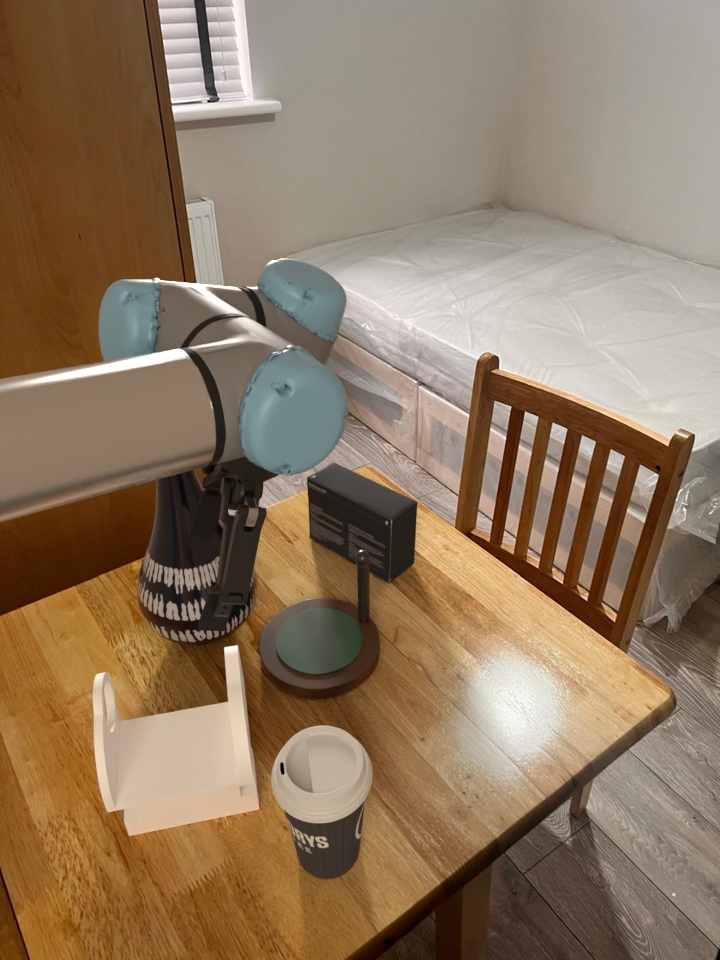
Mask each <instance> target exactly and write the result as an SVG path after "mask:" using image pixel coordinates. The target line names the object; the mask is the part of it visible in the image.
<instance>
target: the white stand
mask: <svg viewBox="0 0 720 960" xmlns="http://www.w3.org/2000/svg"><path fill="white" fill-rule="evenodd" d="M223 652H224V666H225V679H226V692H227V693H226V694H227V701H225V702H218V703H215V704H208V705H202V706H196V707H191V708H186V709H180V710H174V711H170V712H169V711H168V712H164V713H158V714H153V715H147V716H142V717H136V718H130V719H125V720H122V719H121V715H120V713H119V710H118V705H117V698H116V691H115V687H114V682H113V679H112V677H111V674H110V673H109V672H108V671H106V672H100V673H97V674H95V676H94V678H93V679H94V680H93V686H92V710H93V750H94V759H95V760H94V761H95V768H96V774H97V781H98V787H99V791H100V795H101V799H102V802H103V805H104V808H105V810H106V813H112V812H118V811H122V810H123V824H124V826H125V829H126V832H127V834H128V836H129V837H133V836H137V835H142V834H147V833H153V832H158V831H161V830H167V829H171V828H177V827H181V826H187V825H191V824H196V823H200V822H201V823H202V822H206V821H210V820H215V819H221V818H224V817H230V816H235V815H239V814H240V815H241V814H244V813H249V812H254V811H259V810H260V800H259V790H258V789H259V788H258V781H257V779H258V777H257V769H256V761H255V756H254V750H253V746H252V744H251V733H250V725H249V714H248V704H247V697H246V688H245V687H246V686H245V677H244V676H245V675H244V672H243V665H242V659H241V652H240V648H239V645H238V644H236V645H230V646H224V648H223ZM105 706H106V709H105ZM105 710H106V711H105Z"/></svg>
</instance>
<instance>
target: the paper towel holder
mask: <svg viewBox="0 0 720 960" xmlns="http://www.w3.org/2000/svg"><path fill="white" fill-rule="evenodd" d="M355 561H356V563H357V565H356V585H357V587H356V589H357V590H356V591H357V593H356V594H357V605H356V604H354V603H351V602H349V601H346V600H341V599H338V598H331V597H317V598H308V599H304V600H300V601H297V602H294V603H292V604H290V605H288V606H285V607H284V608H282V609H281V610H279V611H278V612H276V613H275V614H274V615H273V616H272V617H271V618H270V619H269V620H268V622H266V624H265V625H264V627H263V629H262V630H261V633H260V636H259V641H258V652H259V660H260V665H261V668H262V671H263V673H264V674H265V677H266V678H267V679H268V680H269V681H270V683H272V684H273V685H274V686H275V687H276V688H278V689H279V690H281V691H282V692H284V693H286V694H289V695H291V696H294V697H296V698H297V697H298V698H301V699H307V700H324V699H332V698H336V697H340V696H343V695H345V694H347V693H350V692H352V691H353V690H355V689H357V688H359V687H360V686H361V685H363V684H364V683H365V682H366V681H367V680H368V679H369V678H370V676H371V675H372V674H373V673H374V671H375V669H376V667H377V665H378V662H379V659H380V654H381V653H380V652H381V646H380V645H381V644H380V643H381V642H380V641H381V639H380V638H381V637H380V633H379V629H378V627H377V624H376V623H375V621H374V619H373V618H372V617H371V602H370V601H371V600H370V599H371V598H370V597H371V595H370V594H371V593H370V572H369V562H370V554H369V553H368V552H367V551H366V550H360V551H358V552H357V553H356V555H355Z"/></svg>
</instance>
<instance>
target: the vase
mask: <svg viewBox="0 0 720 960" xmlns="http://www.w3.org/2000/svg"><path fill="white" fill-rule="evenodd" d="M199 478H200V477H199V476H198V474H197V471H196V469H194V470H191V471H187V472H183V473H180V474H176V475H172V476H169V477H165V478H161V479H158V480H155V510H154V519H153V525H152V530H151V534H150V538H149V541H148V544H147V547H146V551H145V554H144V556H143V559H142V562H141V566H140V569H139V573H138V577H137V584H136V585H137V586H136V594H137V600H138V601H137V602H138V607H139V610H140V612H141V614H142V617H143V619H144V621H145V622H146V623H147V624H148V626H149V627H150V629H151V630H153V631H154V633H156V634H157V635H159V636H160V637H161V638H163V639H164V640H167V641H169V642H171V643H174V644H178V645H181V646H189V647H196V646H197V647H198V646H207V645H211V644H215V643H217V642H220V641H223V640H224V639H226V638H228V637H230V636H231V635H234V633H235V632H237V631H238V630H239V629H240V628H241V627H242V626H243V625H244V624H245V623H246V622H247V620H248V619H249V617H250V615H251V614H252V612H253V610H254V607H255V605H256V602H257V598H258V592H259V584H258V583H259V582H258V576H257V572H256V568H255V567H254V569H253V574H252V579H251V584H250V590H249V595H248V601H247V604H246V605H237V604H235V605H234V608H233V610H232V613H231V615H230V618H229V620H228V623H227V626H226V628H225V631H199V630H198V622H199V619H200V616H201V614H202V611H203V608H204V605H205V602H206V600H207V597H208V594H209V593H208V586H211V585H212V583H213V582H217V574H218V566H219V558H220V549H221V541H222V533H223V525H224V524H223V522H222V521H221V520H220V518H219V521H218V524H217V526H216V529H215V532H214V535H213V538H212V539H209V538H198V537H189V530H190V527H191V523H192V520H193V517H194V514H195V511H196V507H197V504H198V501H199V498H200V494H201V491H205V489H204V488H203V485H202V482H201V481H200V479H199Z"/></svg>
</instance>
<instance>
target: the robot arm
mask: <svg viewBox="0 0 720 960" xmlns="http://www.w3.org/2000/svg"><path fill="white" fill-rule="evenodd" d="M256 284H257V285H256V286H243V285H242V286H227V285H226V286H225V285H217V284H216V285H214V284H205V283H193V282H182V281H171V280H161V279H160V278H159V277H154V278H151V279H139V278H138V279H137V278H136V279H129V278H128V279H126V278H125V279H124V278H123V279H119V280H117V281H114V282H112V284H110V285H109V286H108V287H107V289H106V291H105V293H104V295H103V297H102V300H101V303H100V306H99V312H98V313H99V314H98V340H99V348H100V353H101V356H102V359H103V360H102V361H99V362H92V363H87V364H81V365H75V366H69V367H68V366H67V367H62V368H56V369H51V370H46V371H39V372H34V373H27V374H21V375H16V376H9V377H4V378H0V523H3V522H6V521H11V520H14V519H17V518H21V517H26V516H29V515H32V514H36V513H39V512H43V511H44V512H45V511H47V510H50V509H55V508H58V507H62V506H65V505H70V504H73V503H77V502H80V501H84V500H88V499H91V498H95V497H99V496H103V495H106V494H110V493H114V492H117V491H120V490H124V489H128V488H132V487H135V486H139V485H144V484H146V483H150V482H154V481H156V480H158V479H161V478H165V477H169V476H172V475H176V474H180V473H183V472H187V471H191V470H194V469H195V470H198V469H201V471H202V474H204V475H206V476H204V477H203V478H202V479H203V480H202V482H201V485H202V488H203V489H204V491H201V494H200V498H199V501H198V504H197V507H196V511H195V514H194V517H193V520H192V523H191V527H190V530H189V537H198V538H209V539H212V538H213V535H214V532H215V529H216V526H217V524H218V521H219V519H220V520H221V521H222V523H223V524H224V525H223V533H222V541H221V549H220V558H219V566H218V574H217V582H213V583H212V585H211V586H208V593H209V594H208V597H207V600H206V602H205V605H204V608H203V611H202V614H201V616H200V619H199V622H198V630H199V631H225V628H226V626H227V623H228V620H229V618H230V615H231V613H232V610H233V608H234V605H235V604H237V605H246V604H247V601H248V595H249V590H250V584H251V579H252V574H253V569H254V568H255V564H256V558H257V555H258V554H257V553H258V548H259V543H260V538H261V532H262V529H263V528H264V523H265V520H266V517H267V515H268V512H267V507H266V506H259V505H260V500H261V499H262V498H263V493H264V483H265V482H267V481H269V480H271V479H274V478H277V477H278V476H280V475H285V476H293V475H298V474H299V475H300V474H303V473H306V472H307V471H309V470H312V469H313V468H315V467H316V466H317V465H319V464H320V463H321V462H323V461H324V460H326V459H327V457H329V456H330V455H331V453H332V452H333V451H334V450H335V448H336V446H338V444H339V442H340V440H341V438H342V436H343V434H344V433H345V432H344V431H345V428H346V425H347V420H348V413H349V408H348V405H349V403H348V402H349V401H348V396H347V392H346V391H347V390H346V389H345V387H344V385H343V383H342V381H341V380H340V378H339V376H337V374H336V373H334V372H333V370H331V369H330V368H329V367H327V366H326V364H327V361H328V359H329V357H330V355H331V352H332V350H333V348H334V345H335V343H336V342H337V340H338V337H339V336H338V334H339V331H340V328H341V325H342V322H343V319H344V315H345V311H346V307H347V301H348V300H347V299H348V297H347V293H346V291H345V289H344V287H343V285H342V284H341V283H340V282H339V281H338V280H337V279H335V276H333V275H332V274H330V273H328V272H327V271H325V270H323V269H322V268H320V267H318V266H316V265H313V264H310V263H308V262H305V261H303V260H302V261H301V260H296V259H292V258H279V259H277V260H271V261H269V262H267V264H265V266H264V267H263V269H262V271H261V274H260V276H259V277H258V278H257V283H256ZM229 510H230V511H234V515H233V514H230V513H229Z"/></svg>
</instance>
